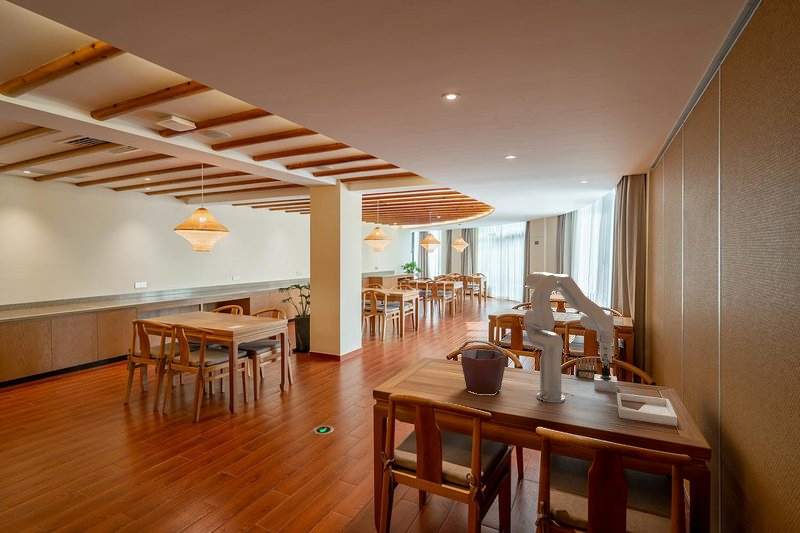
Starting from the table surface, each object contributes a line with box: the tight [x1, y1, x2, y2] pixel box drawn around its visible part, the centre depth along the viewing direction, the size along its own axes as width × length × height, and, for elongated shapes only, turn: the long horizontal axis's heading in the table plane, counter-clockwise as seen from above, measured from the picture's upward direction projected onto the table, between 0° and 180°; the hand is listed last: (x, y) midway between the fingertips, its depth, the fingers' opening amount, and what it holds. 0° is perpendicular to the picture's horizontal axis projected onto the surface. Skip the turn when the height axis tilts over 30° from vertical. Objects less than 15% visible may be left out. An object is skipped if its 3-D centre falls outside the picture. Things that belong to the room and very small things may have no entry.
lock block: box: [593, 373, 618, 394], centre depth 197 cm, size 10×10×6 cm
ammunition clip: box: [575, 356, 598, 379], centre depth 216 cm, size 11×2×12 cm, turn 67°
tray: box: [616, 392, 678, 427], centre depth 169 cm, size 22×20×4 cm
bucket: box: [458, 340, 507, 394], centre depth 201 cm, size 24×22×25 cm
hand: (605, 373), depth 197 cm, fingers open, 7 cm apart
